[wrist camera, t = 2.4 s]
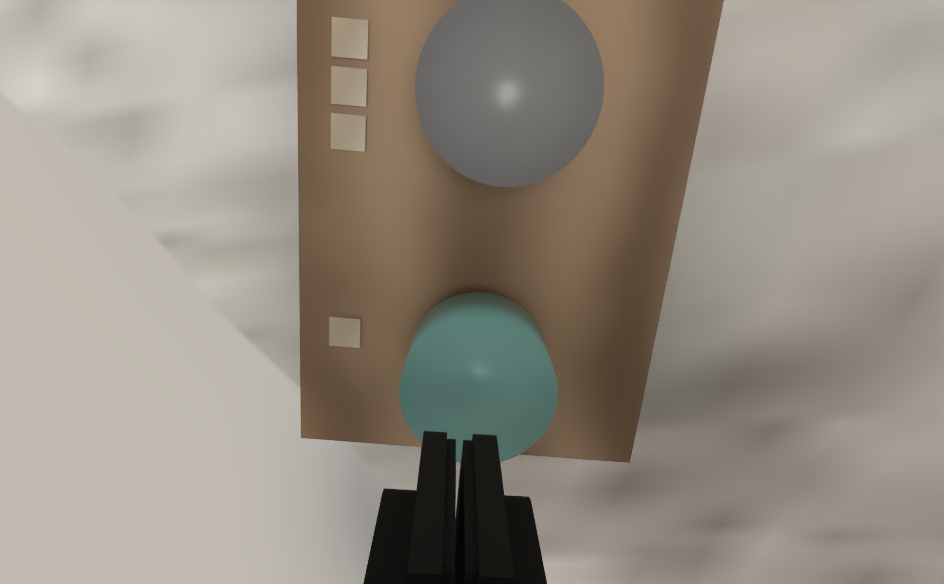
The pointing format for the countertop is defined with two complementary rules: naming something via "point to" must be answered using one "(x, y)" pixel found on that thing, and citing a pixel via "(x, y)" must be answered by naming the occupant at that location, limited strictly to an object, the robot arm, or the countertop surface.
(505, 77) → the button charcoal three
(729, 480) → the countertop surface
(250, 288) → the countertop surface
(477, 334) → the button teal one
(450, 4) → the button panel
